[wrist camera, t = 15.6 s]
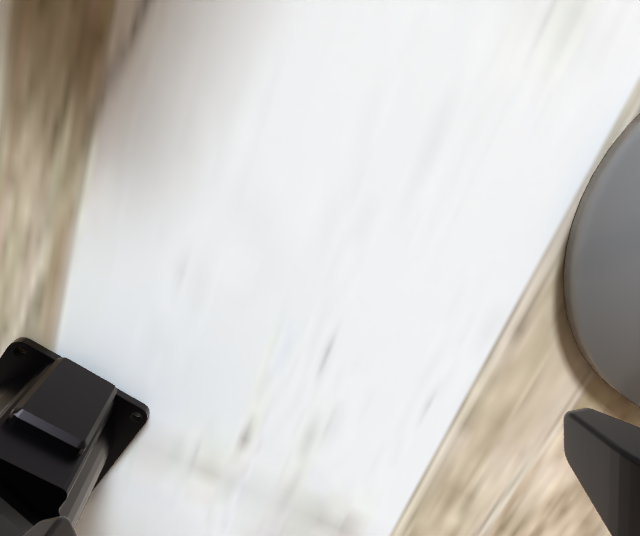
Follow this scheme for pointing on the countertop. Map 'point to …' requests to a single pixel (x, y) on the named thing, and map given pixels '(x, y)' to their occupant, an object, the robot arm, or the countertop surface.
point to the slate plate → (608, 267)
